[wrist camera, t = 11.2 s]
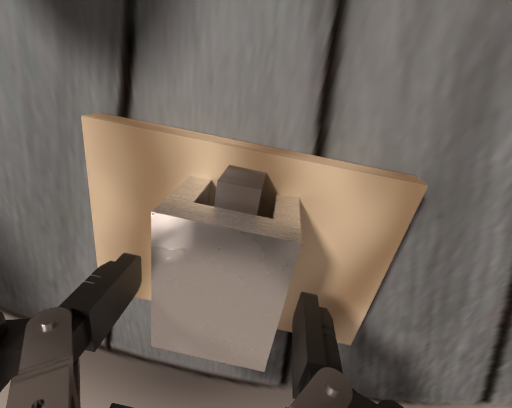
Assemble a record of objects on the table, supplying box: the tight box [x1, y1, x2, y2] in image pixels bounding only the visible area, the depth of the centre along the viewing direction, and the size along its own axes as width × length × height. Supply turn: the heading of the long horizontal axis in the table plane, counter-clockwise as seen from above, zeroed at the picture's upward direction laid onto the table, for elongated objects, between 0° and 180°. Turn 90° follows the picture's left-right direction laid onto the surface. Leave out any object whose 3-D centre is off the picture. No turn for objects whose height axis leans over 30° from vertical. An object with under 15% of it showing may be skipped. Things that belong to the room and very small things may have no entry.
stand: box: [81, 113, 428, 345], centre depth 16 cm, size 18×12×4 cm, turn 80°
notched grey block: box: [151, 175, 302, 372], centre depth 14 cm, size 6×8×4 cm
